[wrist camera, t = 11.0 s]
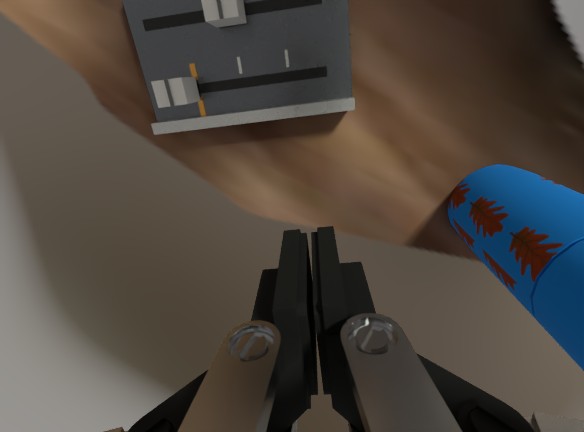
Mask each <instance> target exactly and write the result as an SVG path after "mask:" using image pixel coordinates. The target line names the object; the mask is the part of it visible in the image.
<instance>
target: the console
mask: <svg viewBox="0 0 584 432" xmlns="http://www.w3.org/2000/svg"><path fill="white" fill-rule="evenodd" d="M122 2H123V5H124V9H125V12H126V16H127V19H128V23H129V26H130V29H131V33H132V36H133V40H134V43H135V47H136V50H137V54H138V57H139V60H140V64H141V67H142V71H143V74H144V78H145V81H146V85H147V88H148V92H149V95H150V98H151V102H152V105H153V109H154V112H155V116H156V119H157V122H155V123H152V124H151V126H152V129H153V132H154V135H157V134H166V133H174V132H182V131H190V130H198V129H206V128H214V127H222V126H230V125H238V124H246V123H254V122H262V121H270V120H278V119H286V118H294V117H302V116H310V115H318V114H326V113H334V112H342V111H350V110H355V100H354V97H352V77H351V54H350V32H349V9H348V0H243V2H244V8H245V15H246V21H247V23H244V24H238V25H231V26H225V27H218V28H217V27H215V26H213V25H211V24H209V23H207V22H206V21H205V17H204V12H203V7H202V2H201V0H122ZM180 77H195V79H196V83H197V88H198V92H199V96H200V101H198V102H194V103H190V104H185V105H177V106H170V107H162V108H158V105H157V101H156V98H155V94H154V90H153V87H152V83H151V82H152V81H159V80H165V79H173V78H180Z"/></svg>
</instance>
